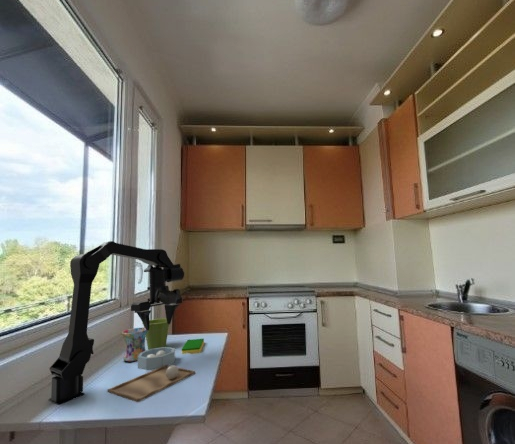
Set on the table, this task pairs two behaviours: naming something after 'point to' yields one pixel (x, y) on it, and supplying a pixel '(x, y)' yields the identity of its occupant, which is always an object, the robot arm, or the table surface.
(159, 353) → the pebble
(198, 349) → the dish sponge
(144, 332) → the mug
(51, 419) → the table surface
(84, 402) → the table surface
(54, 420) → the table surface
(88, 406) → the table surface
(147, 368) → the bowl
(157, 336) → the plant pot
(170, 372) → the pebble
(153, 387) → the tray
